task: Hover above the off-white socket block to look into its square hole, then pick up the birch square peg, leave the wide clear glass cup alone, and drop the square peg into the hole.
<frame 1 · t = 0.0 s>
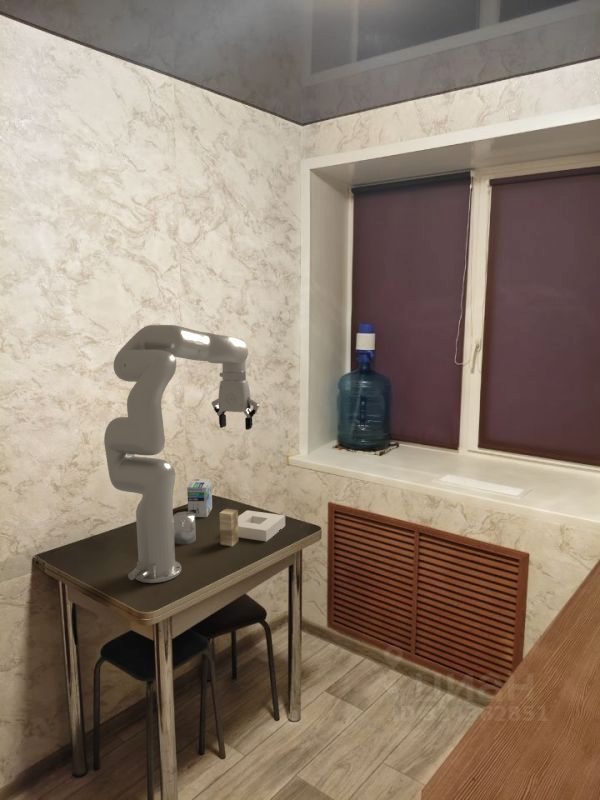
hand: (235, 427, 193), 31 cm above the table, tool pointing down, fingers open, 9 cm apart
square peg: (229, 543, 176), on the table
clear glass cup: (185, 540, 179), on the table
socket block: (256, 530, 186), on the table
light bulb box: (200, 513, 203), on the table
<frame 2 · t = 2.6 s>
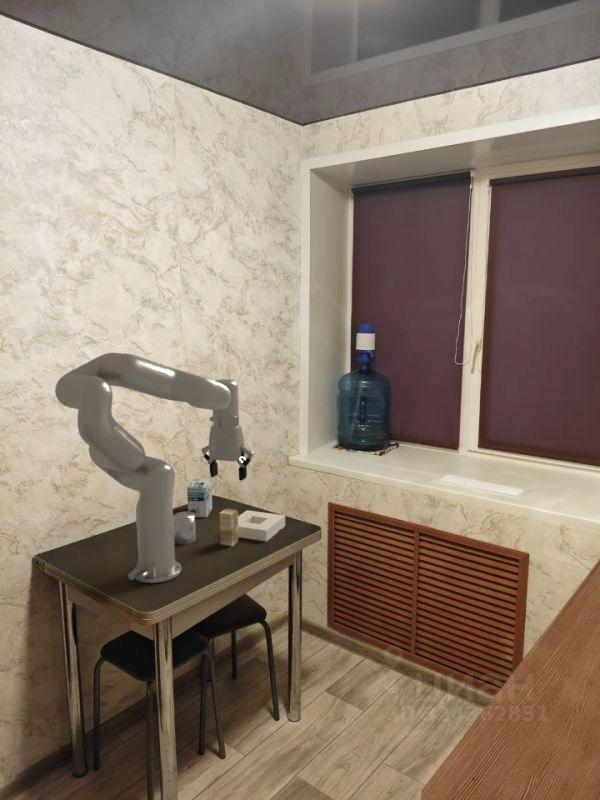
hand: (228, 477, 173), 20 cm above the table, tool pointing down, fingers open, 9 cm apart
nothing on the table moved.
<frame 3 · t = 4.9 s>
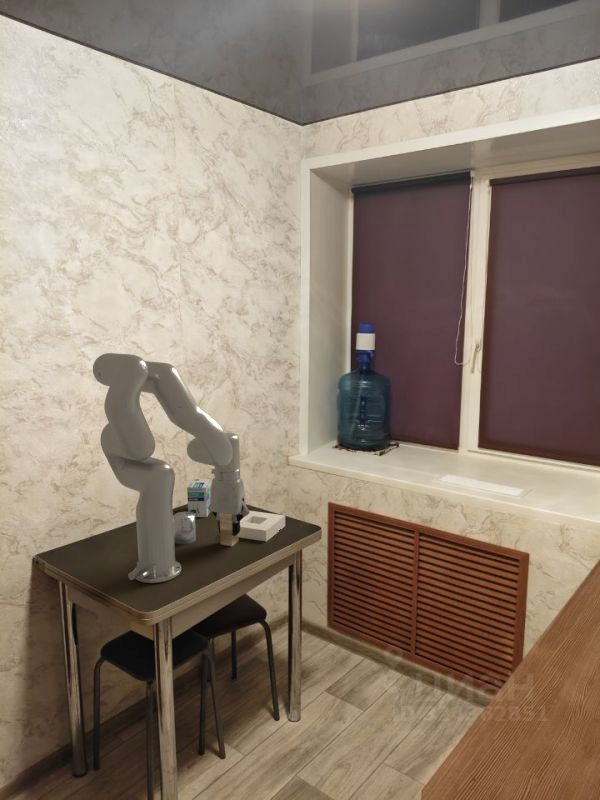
hand: (229, 532, 176), 3 cm above the table, tool pointing down, fingers closed on square peg, 4 cm apart
square peg: (229, 542, 176), on the table, touching gripper
everything else where it was.
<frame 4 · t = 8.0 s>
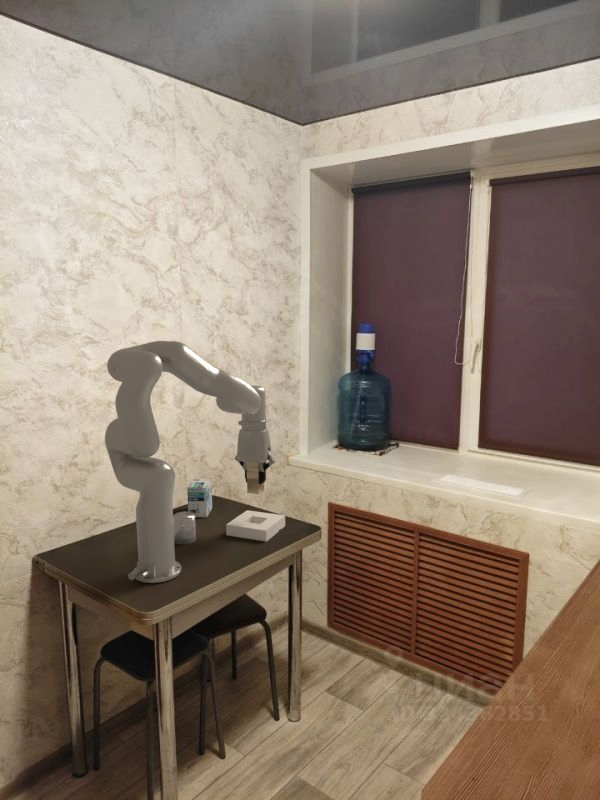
hand: (255, 481, 184), 16 cm above the table, tool pointing down, fingers closed on square peg, 4 cm apart
square peg: (255, 491, 184), point 13 cm above the table, touching gripper
everything else where it was.
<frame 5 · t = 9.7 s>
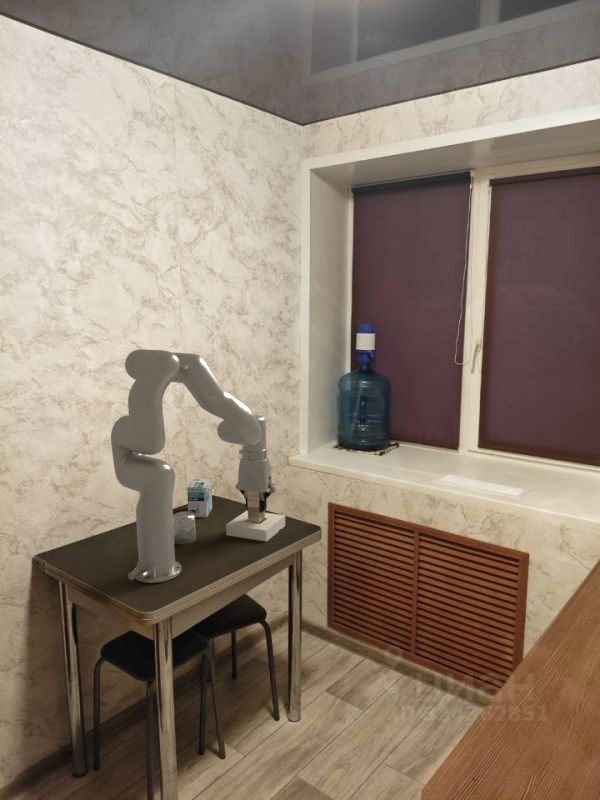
hand: (256, 509, 185), 7 cm above the table, tool pointing down, fingers closed on square peg, 4 cm apart
square peg: (256, 519, 186), point 4 cm above the table, touching gripper
everything else where it was.
when the fingers open (5 cm above the table, at t = 11.1 s): square peg drops 1 cm, resting in socket block.
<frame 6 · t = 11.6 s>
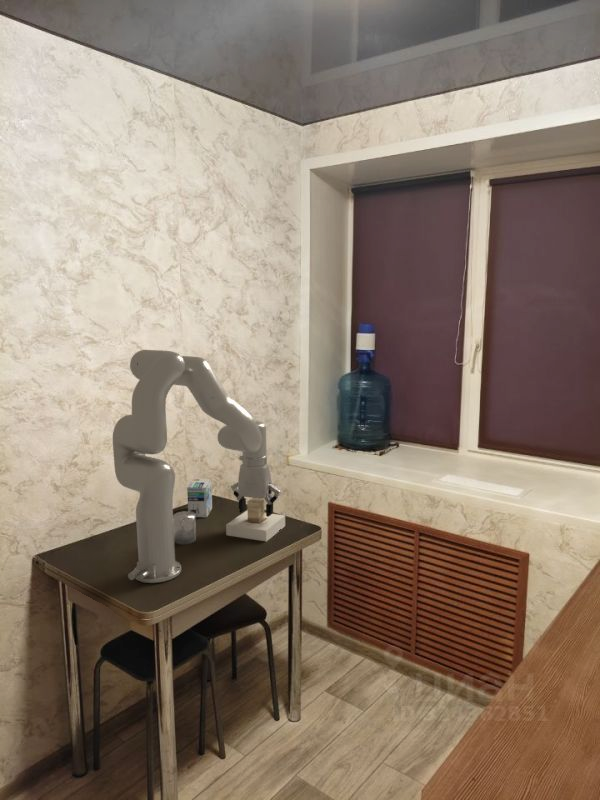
hand: (256, 513, 185), 6 cm above the table, tool pointing down, fingers open, 9 cm apart
square peg: (256, 530, 186), resting in socket block
everything else where it was.
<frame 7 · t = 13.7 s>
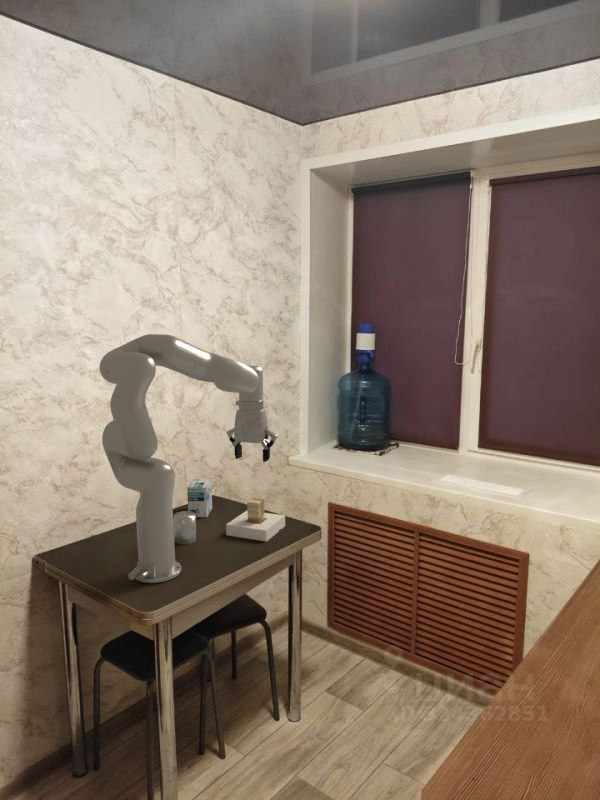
hand: (252, 459, 182), 23 cm above the table, tool pointing down, fingers open, 9 cm apart
nothing on the table moved.
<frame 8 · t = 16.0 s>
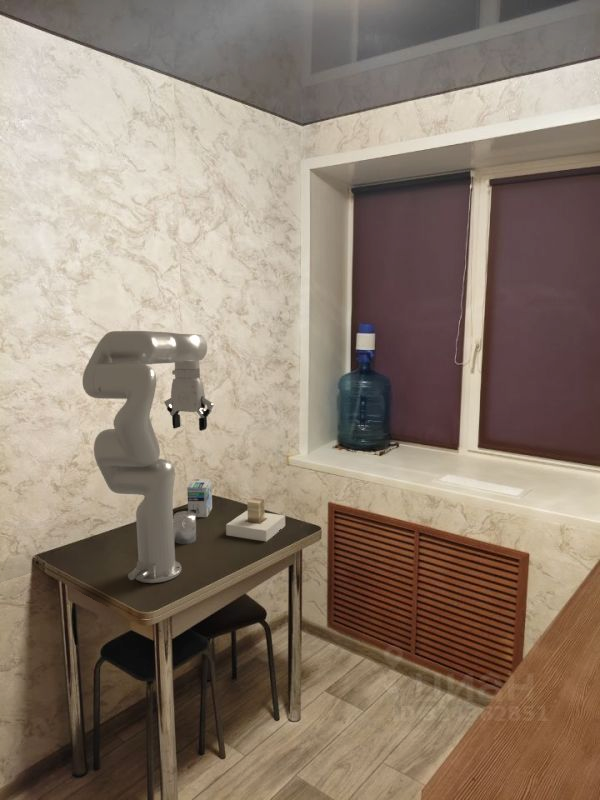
hand: (189, 428, 182), 33 cm above the table, tool pointing down, fingers open, 9 cm apart
nothing on the table moved.
at the end: square peg 0.0 cm off-centre on the socket block, point 0.0 cm above the socket block's base; square peg tilted 0°; clear glass cup moved 0.1 cm from its start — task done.
